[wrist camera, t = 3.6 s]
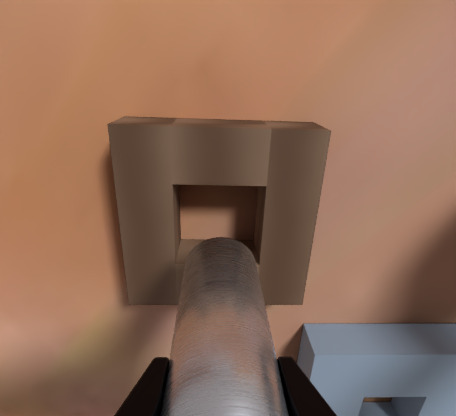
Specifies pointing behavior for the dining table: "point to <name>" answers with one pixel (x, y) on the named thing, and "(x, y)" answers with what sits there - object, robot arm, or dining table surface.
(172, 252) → the mount block
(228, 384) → the pin
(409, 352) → the socket plate
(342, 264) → the dining table surface
